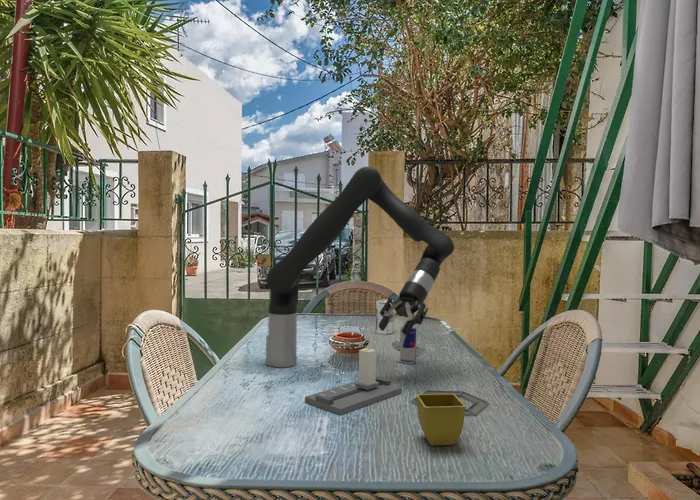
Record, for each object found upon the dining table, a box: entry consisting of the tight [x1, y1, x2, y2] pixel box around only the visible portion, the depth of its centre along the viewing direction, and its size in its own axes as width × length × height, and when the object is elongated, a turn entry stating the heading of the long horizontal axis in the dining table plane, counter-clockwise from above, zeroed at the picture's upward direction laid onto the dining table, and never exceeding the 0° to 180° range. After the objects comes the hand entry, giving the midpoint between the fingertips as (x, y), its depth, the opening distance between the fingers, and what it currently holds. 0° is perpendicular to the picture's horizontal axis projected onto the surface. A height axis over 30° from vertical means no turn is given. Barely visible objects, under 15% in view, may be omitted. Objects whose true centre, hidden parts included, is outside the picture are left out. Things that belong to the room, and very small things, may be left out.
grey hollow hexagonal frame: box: [411, 390, 490, 417], centre depth 135 cm, size 17×20×1 cm
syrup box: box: [375, 298, 395, 336], centre depth 224 cm, size 6×6×14 cm
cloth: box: [391, 340, 426, 358], centre depth 195 cm, size 26×14×2 cm, turn 179°
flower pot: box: [415, 393, 467, 447], centre depth 110 cm, size 9×9×9 cm
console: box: [304, 376, 403, 416], centre depth 139 cm, size 24×13×3 cm, turn 136°
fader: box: [355, 348, 379, 390], centre depth 142 cm, size 5×4×10 cm
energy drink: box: [399, 325, 417, 365], centre depth 176 cm, size 5×5×12 cm
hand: (392, 331), depth 149 cm, fingers open, 8 cm apart
